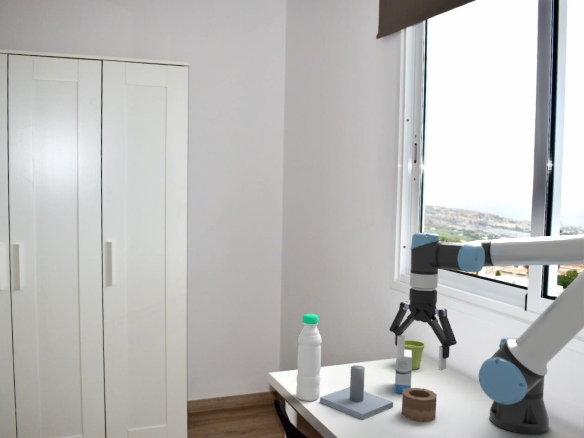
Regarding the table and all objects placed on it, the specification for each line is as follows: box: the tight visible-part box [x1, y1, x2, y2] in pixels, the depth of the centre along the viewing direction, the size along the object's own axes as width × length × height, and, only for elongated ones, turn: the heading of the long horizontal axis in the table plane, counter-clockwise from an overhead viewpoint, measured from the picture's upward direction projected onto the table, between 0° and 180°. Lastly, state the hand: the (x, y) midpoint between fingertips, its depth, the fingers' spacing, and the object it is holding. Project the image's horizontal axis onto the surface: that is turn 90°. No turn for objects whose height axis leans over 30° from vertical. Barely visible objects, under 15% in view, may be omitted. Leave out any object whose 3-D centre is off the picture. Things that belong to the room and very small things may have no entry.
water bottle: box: [295, 313, 322, 402], centre depth 165 cm, size 7×7×25 cm
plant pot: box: [405, 339, 426, 370], centre depth 198 cm, size 9×9×9 cm
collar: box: [401, 387, 437, 423], centre depth 155 cm, size 9×9×6 cm
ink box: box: [394, 350, 413, 394], centre depth 175 cm, size 8×5×12 cm, turn 168°
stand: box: [319, 364, 394, 420], centre depth 160 cm, size 16×14×11 cm
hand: (420, 363), depth 154 cm, fingers open, 13 cm apart
